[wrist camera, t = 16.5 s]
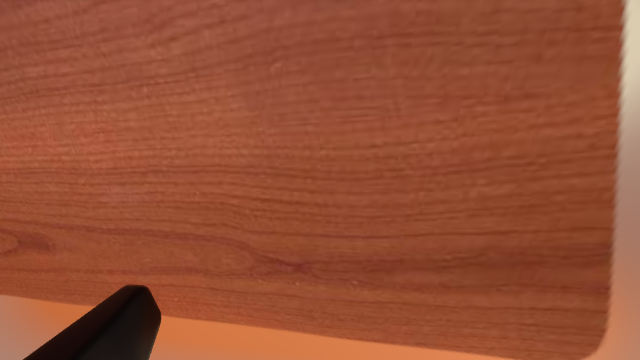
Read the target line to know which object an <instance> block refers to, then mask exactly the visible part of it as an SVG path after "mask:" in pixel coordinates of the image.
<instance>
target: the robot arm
mask: <svg viewBox="0 0 640 360" xmlns="http://www.w3.org/2000/svg"><path fill="white" fill-rule="evenodd" d="M160 323H161V312H160V310H159V308H158V306H157V304H156V302H155V300H154V298H153V296H152V294H151V292H150V290H149V288H147V287H146V286H143V285H126V286H124V287H122V288H121V289H119V290H118V291H117V292H115V293H114V294H113V295H111V296H110V297H108V298H107V299H106V300H104V301H103V302H102V303H100V304H99V305H97V306H96V307H95V308H93V309H92V310H91V311H89V312H88V313H86V314H85V315H84V316H82V317H81V318H80V319H78V320H77V321H76V322H74V323H73V324H71V325H70V326H69V327H67V328H66V329H65V330H63V331H62V332H60V333H59V334H58V335H56V336H55V337H54V338H52V339H51V340H49V341H48V342H47V343H45V344H44V345H43V346H41V347H40V348H38V349H37V350H36V351H34V352H33V353H31V354H30V355H29V356H27V357H26V358H25V359H23V360H149V357H150V354H151V351H152V348H153V345H154V342H155V339H156V336H157V333H158V330H159V327H160Z"/></svg>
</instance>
